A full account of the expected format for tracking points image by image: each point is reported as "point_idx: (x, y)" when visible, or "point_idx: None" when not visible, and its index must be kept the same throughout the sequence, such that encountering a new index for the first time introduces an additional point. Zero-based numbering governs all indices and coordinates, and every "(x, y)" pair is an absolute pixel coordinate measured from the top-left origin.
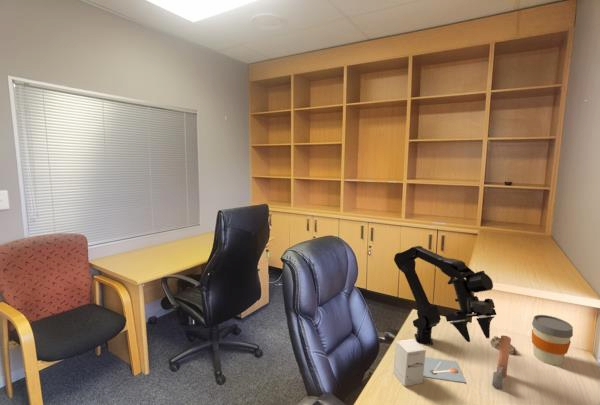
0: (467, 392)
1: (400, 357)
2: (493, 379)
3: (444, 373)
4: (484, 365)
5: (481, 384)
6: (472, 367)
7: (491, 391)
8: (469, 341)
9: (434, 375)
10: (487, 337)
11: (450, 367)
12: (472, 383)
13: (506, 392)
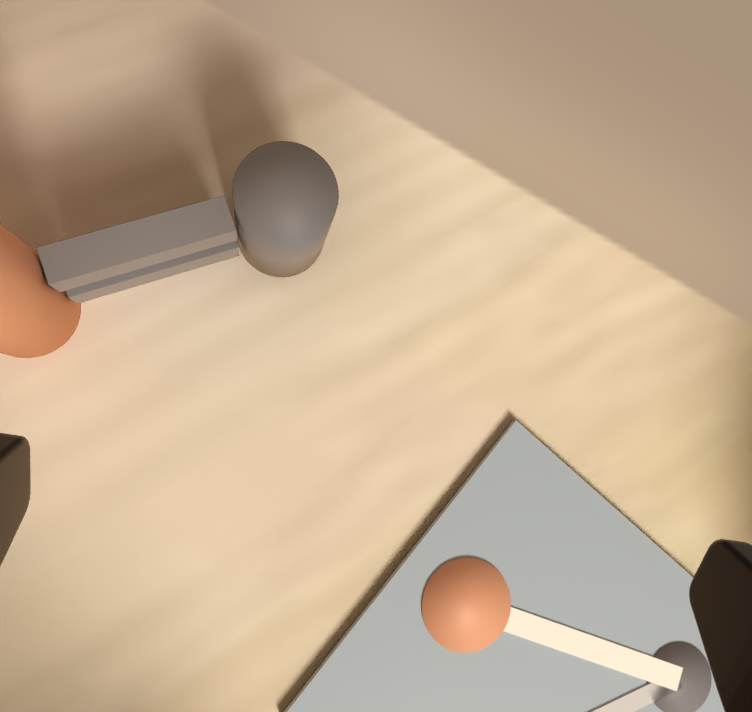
0: (608, 334)
1: None
2: (323, 239)
3: (592, 613)
4: None
5: (388, 332)
6: (199, 553)
7: (397, 228)
8: (745, 544)
9: None
10: (23, 474)
11: (449, 659)
12: (455, 385)
13: None
